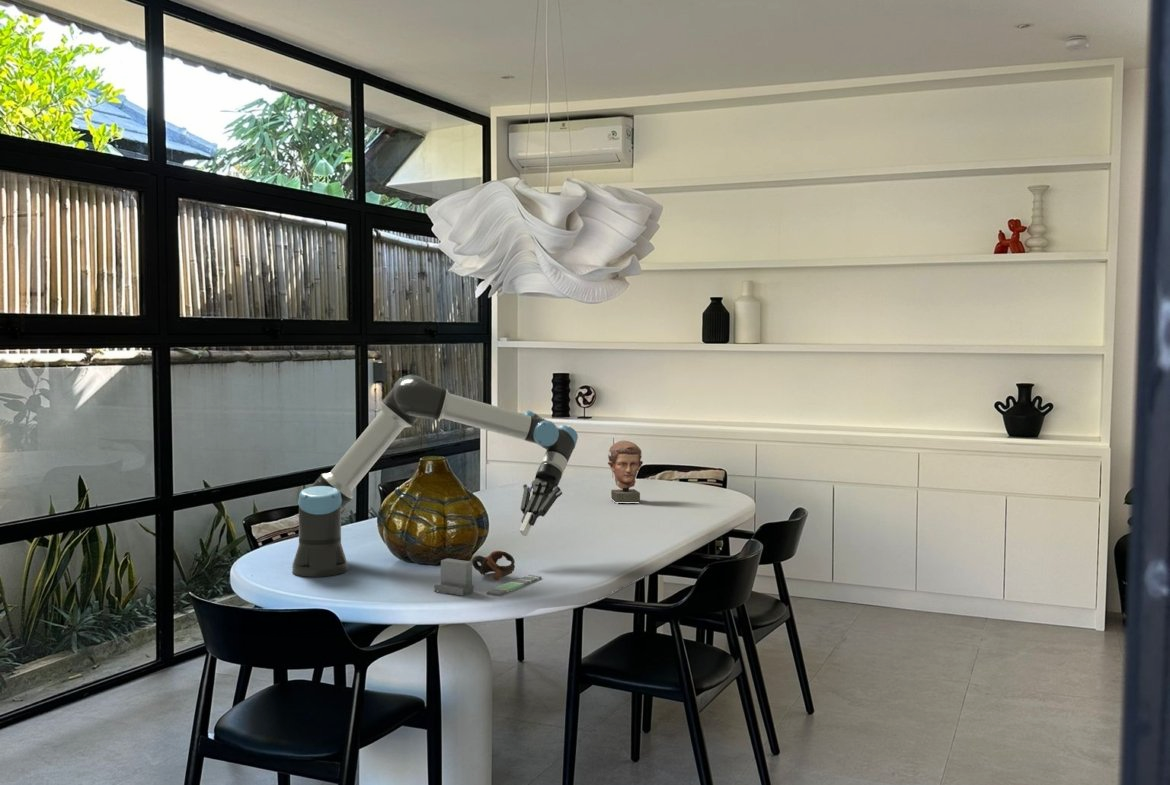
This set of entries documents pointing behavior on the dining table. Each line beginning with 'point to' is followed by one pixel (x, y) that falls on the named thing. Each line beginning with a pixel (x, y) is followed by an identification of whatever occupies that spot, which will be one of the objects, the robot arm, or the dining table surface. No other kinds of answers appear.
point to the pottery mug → (494, 564)
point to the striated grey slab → (455, 577)
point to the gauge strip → (513, 585)
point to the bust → (625, 470)
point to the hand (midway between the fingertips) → (523, 533)
